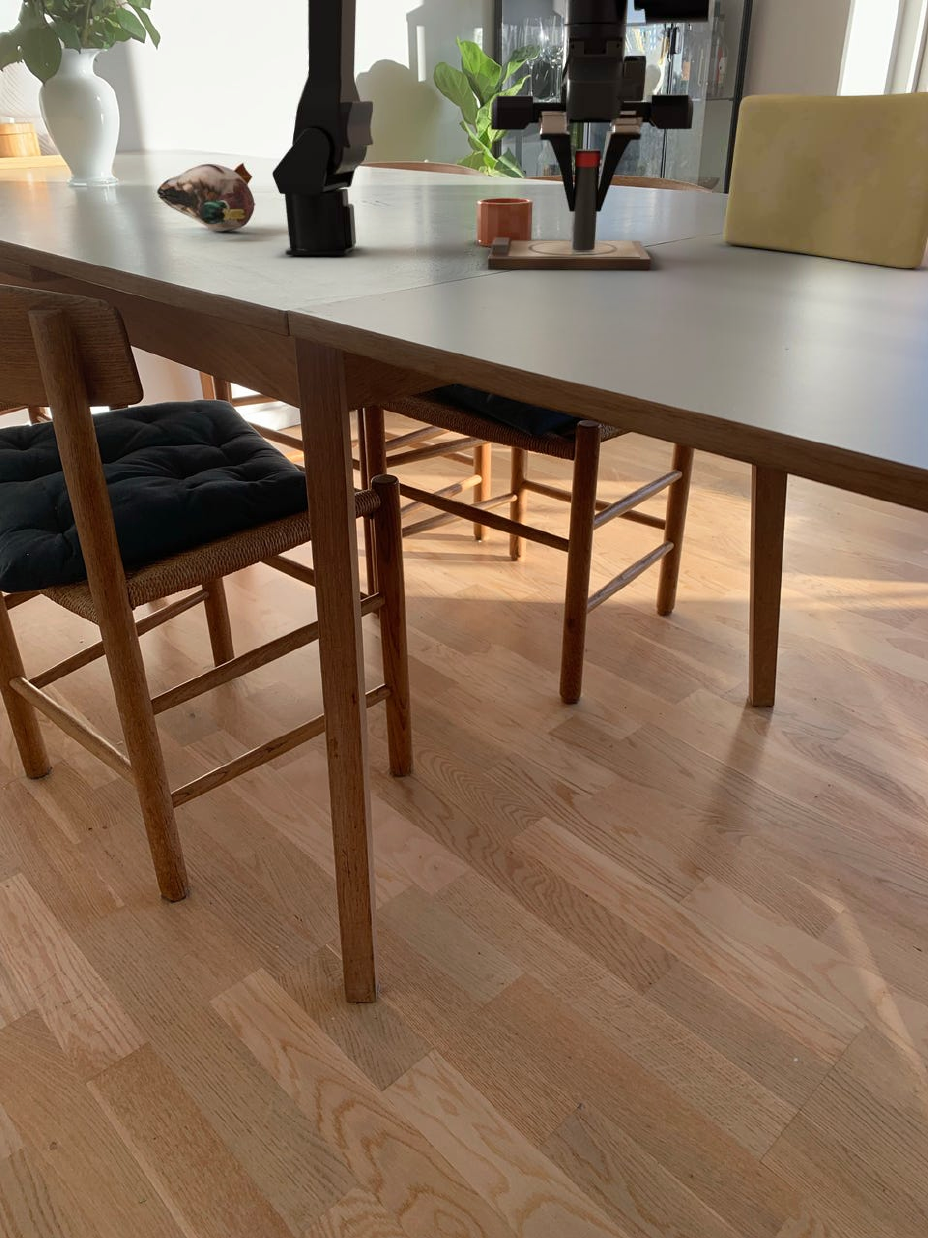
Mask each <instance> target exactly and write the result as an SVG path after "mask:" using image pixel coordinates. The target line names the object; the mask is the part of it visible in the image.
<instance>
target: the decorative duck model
mask: <svg viewBox="0 0 928 1238" xmlns="http://www.w3.org/2000/svg"><path fill="white" fill-rule="evenodd" d="M244 164H245V162H242V163H240V164H238V165H237V166H236V168H234V170H233V169H231V168H229V167H226V166H224V165H220V164H216V163H205V164H200V165H196V166H194V167H192V168H189V169H187V170H186V171H184V172H182V173H180V174H179V175H176V176H175V175H174V176H173V177H170V178H169V179H167V180H165V181H164V182H163V183H162V184H160V186H159V187H158V188H157V190H156V193H157V196H158V198H159V199H160V200H161V201H162V202H164V204H166V205H167V206H169V207H170V208H172V209H173V210H175V211H177V212H179V213H181V214H183V215H185V216H187V217H188V218H191V219H193V220H195V221H197V222H198V223H200V224H201V225H203V226H204V227H206V228H208V229H210V230H212V231H215V232H230V231H235V230H238V229H241V228H243V227H245V226H246V225H247V224H248V223H249V221H250V220H251V219H252V216H253V214H254V211H255V206H256V203H255V199H254V195H253V193H252V191H251V189H250V187H249V183H250V181H251V180H252V178H253V176H252V174H250V173H249V171H248V170H247V168H246V167H245V165H244Z"/></svg>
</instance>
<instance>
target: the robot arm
mask: <svg viewBox="0 0 928 1238" xmlns="http://www.w3.org/2000/svg"><path fill="white" fill-rule="evenodd" d="M713 4H714V0H633V9H634V11H635V12H642V11H643V12H644V20H645V24H646V25H656V24H657V25H660V24H663V25H664V24H699V23H700V24H703V23H704V24H705V23H707V24H708V23H710V22H711V17H712V11H713ZM628 10H629V0H564V9H563V11H564V13H563V16H564V17H563V33H562V34H563V35H562V36H563V37H562V59H561V60H562V61H561V79H560V102H557V101H556V102H555V101H554V102H535V97H534V96H535V95H532V94H531V95H530V94H529V95H525V94H524V95H520V94H519V95H515V94H513V95H497V96H496V97H495V98H494V100H493V101H492V102H491V105H490V130H492V131H524V130H525V129H526V128H527V127H528V126H529V125H530V124H538V128H540V131H539V133H538V138H539V139H538V140H539V141H549V143H550V146H551V149H552V151H553V153H554V156H555V159H556V162H557V165H558V167H559V172H560V175H561V180H562V185H563V188H564V193H565V197H566V202H567V206H568V211H569V212H570V213H571V212H572V213H573V211H574V171H573V157H572V142H571V140H572V139H571V133H570V131H569V130H567V128H569V127H570V124H609V126H610V127H611V130H607V131H606V137H605V141H604V142H605V143H604V149H603V153H602V154H603V155H602V159H601V165H600V166H601V167H600V171H599V186H598V197H597V213H600V212H601V211H602V209H603V206H604V203H605V200H606V197H607V194H608V192H609V189H610V186H611V184H612V182H613V181H612V180H613V178H614V175H615V172H616V169H617V168H618V165H619V163H620V161H621V159H622V157H623V155H624V153H625V151H626V150H627V148H628V146H629V144H630V142H631V141H640V140H641V139H642V133H641V132H640V129H641V128H640V127H643V124H645V123H646V124H647V123H648V124H649V125H650V126H651V127H653V128H656V129H657V130H691V129H692V127H693V120H694V119H693V118H694V109H695V107H694V101H693V99H692V98H691V96H690V95H689V94H683V93H682V94H680V93H679V94H678V93H677V94H675V93H673V94H669V93H668V94H665V93H663V94H646V98H645V99H646V100H645V101H643V100H644V94H645V86H646V85H645V84H646V74H647V73H646V70H647V56H646V55H625V52H626V39H627V24H628V23H627V22H628ZM356 14H357V0H307V76H306V80H305V82H304V85H303V87H302V91H301V93H300V96H299V99H298V102H297V104H296V109H295V115H294V121H293V127H292V136H291V147H290V148H289V149H288V151H287V152H286V153H285V155H284V156H283V157H282V159H281V160H280V161H279V163H278V164H277V165H276V167H275V168H274V169H273V171H272V174H271V175H272V178H273V180H274V183H275V186H276V188H277V191H278V193H279V194H280V195H284V200H285V211H286V221H287V230H288V232H287V233H288V242H289V248H287V249H286V250H285V255H286V256H345V255H347V254H348V253H349V252H350V251H352V250H353V249H354V248H356V247H355V246H356V244H357V236H356V235H357V234H356V221H355V219H356V218H355V206H354V205H353V203H349V192H348V188H350V187H352V183H353V179H354V176H355V171H356V169H358V167H360V165H361V164H362V163H363V162H365V159H366V156H367V152H368V146H373V145H374V141H373V137H372V131H371V128H372V127H371V125H372V118H373V113H374V101H372V100H363V101H362V100H361V97H360V95H359V91H358V88H357V84H356V80H355V79H356V78H355V59H356V58H355V55H356V18H357V17H356Z"/></svg>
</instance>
